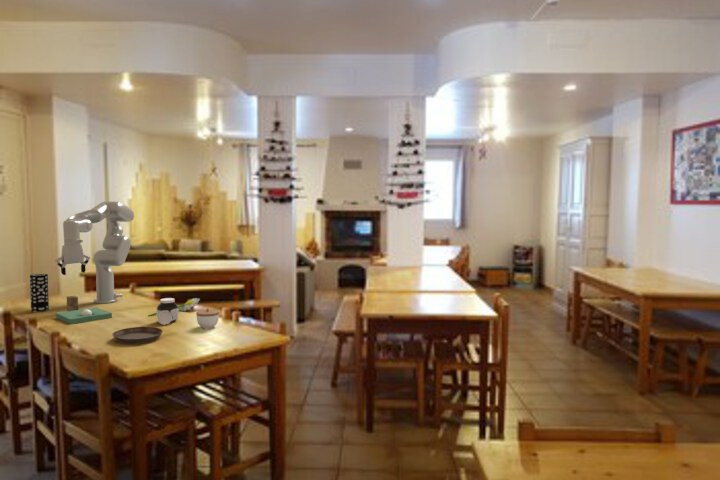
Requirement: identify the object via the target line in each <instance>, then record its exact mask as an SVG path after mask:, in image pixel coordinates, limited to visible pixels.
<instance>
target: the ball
mask: <svg viewBox="0 0 720 480" xmlns="http://www.w3.org/2000/svg"><path fill="white" fill-rule="evenodd" d="M84 309H85V310H83V311H82V313H81V316H90V315H92V312H91V311H90V310H89V309H88V308H84Z"/></svg>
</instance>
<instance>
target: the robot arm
mask: <svg viewBox="0 0 720 480" xmlns="http://www.w3.org/2000/svg"><path fill="white" fill-rule="evenodd" d="M134 217H135V212H134V210H132V208H130V207H129V206H127V204H124V203H123V202H120V201H110V200H109V201H108V200H107V201H102V202H100V203H99V204H97V205H96V206H94V207H92V208H91V209H88V210H85V211H82V212H77V213H75V214H73V215H70V217H68V218H66V220H64V221H62V222H63V223H62V225H63V228H62V229H63V230H62V231H63V244H64V245H62V247H61V255H60V257H58V258H57V259H55V261H54V262H55V263H56V264H57V266H59V267H60V272H61V274H62V275H63V276H66V275H67V273H66V272H67V271H66V269H67V268H66V266H67V265H70V264H81V265H80V269H81V271H80V273H82V274H83V273H85V272H86V265H88V263H89V262H90V259H91V256H89V255H85V254H84V250H83V246H82V243H83V240H82V239H81V238H80V237H81V236H80V234H81V233H88V232H90V231H91V230H92V229H93V226H94V225H93V224H97V223H100V222H101V221H103V220H104V219H105V220H106V222H107V225H108V226H107V228H108V229H107V232H106V234H105V237H104V239H103V242H102V248H103V249H102V250H101V249H100V250H97V251H96V252H95V253H94V254H93V262H94V265H95V278H96V279H95V280H96V282H95V283H96V286H95V288H96V299H94V300H93V303H94V304H111V303H114V302H117V301H118V298H121V297H123V293H115V284H114V283H115V280H114V279H115V278H114V276H115V274H114V273H115V272H114V270H113V268H112V267H121V266H123V265H124V264H125V262H126V259H127V257H128V254H129V252H130V249H131V239H130V237H128V236H127V235H123V233H124V230H123V227H122V225H121V224H120V223H129V222H133V220H134ZM60 261H61V262H60Z"/></svg>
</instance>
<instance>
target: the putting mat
mask: <svg viewBox="0 0 720 480" xmlns="http://www.w3.org/2000/svg"><path fill="white" fill-rule="evenodd" d="M85 309H86V308H83V309H78V310H74V311H67V310H66V311H60V312H56V313H55V318H56V319H58V320H61V321H63V322H65V323H67V324H69V325H73V324H81V323H86V322H94V321H99V320H105V319H112V318H113V313H112V312H111V311H109V310H108V311H107V310H104V309H103V308H102V309H101V308H99V307H89V308H88V307H87V309H89V310H90V311H91V312H92V315H90V316H81V313H82V311H83V310H85Z"/></svg>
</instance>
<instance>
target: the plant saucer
mask: <svg viewBox="0 0 720 480" xmlns="http://www.w3.org/2000/svg"><path fill="white" fill-rule="evenodd" d="M163 331H164V330H162V329H161V328H159V327H153V326H134V327H127V328H122V329H118V330H115V331H114V332H113V333H112V335H111V336H112V337H113V338H114V339H115V340H116V341H117V342H119V343H121V344H127V345H128V344H129V345H137V344H138V343H139V344H145V342H146V343H149V342H153V341H155V339H156V340H157V339H159V337H161V335H162V333H163ZM139 344H138V345H139Z"/></svg>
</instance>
